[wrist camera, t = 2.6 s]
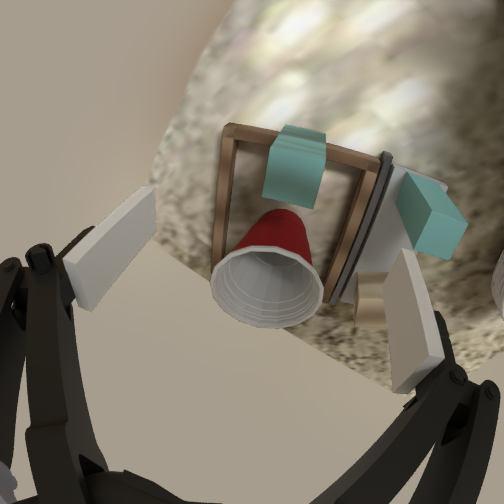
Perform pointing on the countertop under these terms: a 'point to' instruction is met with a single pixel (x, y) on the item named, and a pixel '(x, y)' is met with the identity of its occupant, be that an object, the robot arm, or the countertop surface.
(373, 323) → the beech cube
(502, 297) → the paper bowls
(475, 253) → the countertop surface
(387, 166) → the divider rail
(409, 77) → the countertop surface
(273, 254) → the plastic cup
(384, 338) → the countertop surface
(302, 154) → the frame
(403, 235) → the sled
